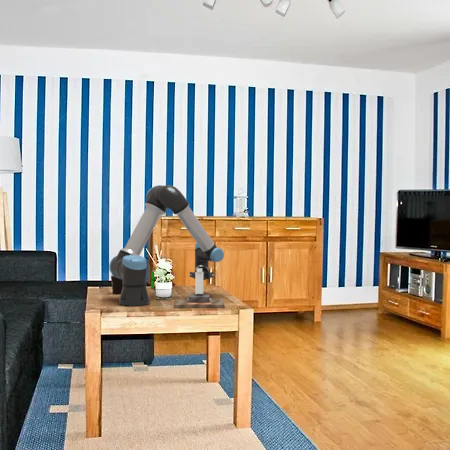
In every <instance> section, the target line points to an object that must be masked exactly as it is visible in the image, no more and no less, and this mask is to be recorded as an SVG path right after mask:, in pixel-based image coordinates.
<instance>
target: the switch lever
mask: <svg viewBox="0 0 450 450" xmlns="http://www.w3.org/2000/svg"><path fill="white" fill-rule="evenodd" d="M194 272H195V271H194ZM194 281H195V284H194V290H195V291H194V295H204V280H203V272H202V268H197V272H195V279H194Z"/></svg>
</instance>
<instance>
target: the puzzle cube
mask: <svg viewBox="0 0 450 450" xmlns="http://www.w3.org/2000/svg"><path fill="white" fill-rule="evenodd" d="M154 271H155V270H151V272H150V273H151V274H150V277H151V278H150V279H151V281H150V288H151V289H154V282H155V280H156V277H154ZM170 271H171V270H170ZM171 274H172V275H173V276H174V271H171ZM172 286H173V287H174V280H173V281H172Z"/></svg>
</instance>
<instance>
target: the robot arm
mask: <svg viewBox="0 0 450 450" xmlns="http://www.w3.org/2000/svg"><path fill="white" fill-rule="evenodd" d="M144 206H145V210H144V211H143V213H142V215H141V216H140V218H139V220H138V222H137V224H136V226H135V228H134V229H133V232H132V234H131V235H130V237H129V238H128V241H127V243H126V244H125V247H123V248H121V249H120V250H119V252H118V253H117V255H116V256H114V257H113V258H111V260H110V261H109V263H108V264H109V265H108V266H109V268H108V269H109V272H110V275H113V276H114V277H116V278H118V279H121V280H123V288H122V292H121V294H119V299H118V304H119V305H120V304H121V305H120V306H125V305H127V306H128V307H134V306H135V307H139V306H148V305H150V304H151V299H150V295H149V292H148V289H147V266H148V265H147V259H146V258H145V257H144V256H141V254H142V252H143V250H144V248H145V247H146V244H147V242H148V240H149V238H150V236H151V234H152V232H153V230H154V229H155V227H156V225H157V223H158V222H159V219H160V218H161V216H163V215H165V214H166V212H167V210H168V209H169V210H170V211H171V212H172V214H173V215H176V216H177V217H178V219H179V220H180V222H181V223H182V224H183V226H184V227H185V229H186V230H187V231H188V233H189V234H190V236H191V237H192V238H193V240H194V241H195V244H194V272H193V271H190V272H189V277H190V278H192V279H194V280H195V272H197V268H202V272H203V281H206V280H210V279H211V278H214V277H215V272H213V271H212V272H211V271H209V264H210V263H209V262H212V263H220V262H221V261H222V260H223V259H224V257H225V252H224V250H223V249H221V247H218V246H217V244H215V242H214V241H213V239H212V238H211V237H210V235H209V234H208V232H207V231H206V230H205V227H204V226H203V224H202V223H201V222H200V221H199V219H198V217H197V216H196V215H195V213H194V212H193V210H192V209H191V208H190V203H189V201H188V199H186V197H185V196H184V194H183V193H182V192H181V191H180V190H179V189H178V188H177V187H176V186H173V185H169V184H167V185H155V186H153V187H151V188H150V189H149V190H148V191H147V193H146V201H145V202H144Z"/></svg>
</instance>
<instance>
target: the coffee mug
mask: <svg viewBox="0 0 450 450" xmlns="http://www.w3.org/2000/svg"><path fill="white" fill-rule="evenodd" d="M110 281H111V289H112V295H121V292H122V288H123V280H121V279H118V278H116V277H114V276H113V275H112V274H110Z"/></svg>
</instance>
